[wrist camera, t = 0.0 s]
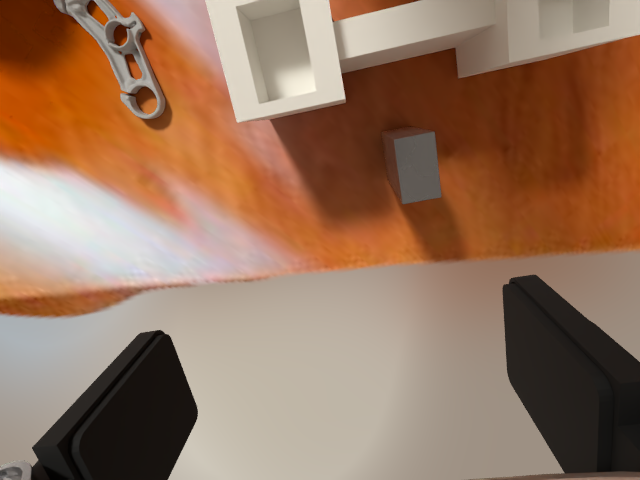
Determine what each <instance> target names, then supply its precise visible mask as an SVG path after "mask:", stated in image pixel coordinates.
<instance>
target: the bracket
mask: <svg viewBox="0 0 640 480" xmlns="http://www.w3.org/2000/svg"><path fill="white" fill-rule="evenodd" d="M53 1H54V3H55V5H56V7H57V8H58V9H59V10H60V12H62V13H65V14H68V15H70V16H72V17H74V18H75V19H76V20H77V22H78V23H79V24H80V25H81V26H82V27H83V28H84V29H85V30H86V31H87V32H88V33H90V34H91V35H92V36H93V37H94V38H95V39H96V41H97V42H98V43H99V45H100V46H101V48H102V49H103V51H104V52H105V54H106V55H107V57H108V59H109V61H110V64H111V66H112V69H113V72H114V74H115V76H116V78H117V80H118V82H119V84H120V87H121V90H123V91H125V92H128V93H134V94H137V92H138V90H139V89H140V88H142V87H145V86H146V87H148V88H150V89H151V90H152V91H153V92H154V94H155V96H156V98H157V109H156V110H155V111H154V112H153V113H152V114H150V115H148V114H146V113H144V112H142V111H141V110H140V109H139V107H138V105H137V103H136V97H134V96H131V95H128V94H124V93H121V96H120V98H121V100H122V102H123V103H124V104H125V105H126V106H127V107H128V108H129V109H130V110H131V111H132V112H133V113H134V114H135V115H136V116H138V117H140V118H144V119H153V118H157V117H159V116H160V115H161V114H162V113H163V111H164V109H165V98H164V96H163V93H162V91H161V89H160V86H159V84H158V82H157V81H156V79H155V76H154V74H153V71H152V69H151V66H150V64H149V61H148V59H147V57H146V54H145V52H144V50H143V48H142V46H141V43H140V35H141V33H142V32H143V31H145V27H144V25H143V23H142V22H141V20H140V19H139V18H138V17H137V16H136V15H135V14H134V13H133V12H132V13H131V16H130V17H129V18H124V17H123V16H122V15H121V14H120V13H119V12H118V11H117V10H116V9H115V7H114V6H113V5H112V4H111V3H110V2H109V1H108V0H93V1H95V2H96V4H97V5H98V6H99V7H100V8H101V10H102V11H103V12H104V13H105V14H106V16H107V17H108V18H109V21H108V22H107V23H106V25H105V27H104V26H103V25H102V24H100V23H99V22H98V21H97V20H95V19H94V18H93V17H92V16H91V15H90V14H88V11H87V5H88V3H89V1H90V0H53ZM115 15H116V16H117V19H116V18H115ZM121 24H122V25H124V26H126V27H129V28H131V29H126V30H127V33H128V39H127V42H126V43H125V44H124V45H123V46H118V45H116V44H114V41H115V40H114V36H113V33H114V30H115V28H116V27H117V26H118V25H121ZM132 27H133V28H132ZM137 48H138V51H139V52H138V51H137V50H136V49H137ZM118 51H121V52H122V54H121V55H120V53H119V52H118ZM127 54H133V56H134V58H135V60H136V62H137V64H138V66H139V68H140V70H141V72H142V78H141V79H138V80H135V79H134V78H132V77H131V74H130V71H129V68H128V65H127V62H126V59H125V55H127Z"/></svg>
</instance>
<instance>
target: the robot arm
mask: <svg viewBox="0 0 640 480" xmlns="http://www.w3.org/2000/svg"><path fill="white" fill-rule="evenodd" d="M503 304H504V305H503V306H504V322H505V341H506V359H507V373H508V377H509V380H510V383H511V385H512V386H513V388H514V390H515V392H516V393H517V395H518V396H519V398H520V400H521V401H522V403H523V405H524V406H525V408H526V410H527V411H528V413H529V415H530V416H531V418H532V420H533V421H534V423H535V425H536V426H537V428H538V430H539V431H540V433H541V434H542V436H543V438H544V439H545V441H546V443H547V444H548V446H549V448H550V449H551V451H552V453H553V454H554V456H555V458H556V459H557V461H558V463H559V464H560V466H561V467H562V469H563V471H564V472H565V474H542V475H529V476H516V477H500V478H484V479H470V480H640V362H639V361H638V360H637V359H635V358H634V357H633V356H632V355H631V354H630V353H628V352H627V351H626V350H625V349H624V348H623V347H621V346H620V345H619V344H618V343H616V342H615V341H614V340H613V339H612V338H611V337H610V336H608V335H607V334H606V333H605V332H604V331H603V330H601V329H600V328H599V327H598V326H597V325H596V324H594V323H593V322H591V321H589V320H588V319H587V318H586V317H584V316H583V315H582V314H581V313H580V312H578V311H577V310H576V309H575V308H574V307H573V306H571V305H570V304H569V303H568V302H567V301H566V300H565V299H563V298H562V297H561V296H560V295H559V294H558V293H556V292H555V291H554V290H553V289H552V288H551V287H549V286H548V285H547V284H546V283H545V282H544V281H542V280H541V279H540V278H539V277H538V276H536V275H529V276H522V277H515V278H511V279H510V281H509V284H506V285H504V286H503ZM197 414H198V410H197V406H196V403H195V400H194V398H193V395H192V392H191V390H190V387H189V384H188V382H187V379H186V376H185V374H184V371H183V368H182V366H181V363H180V361H179V358H178V355H177V353H176V350H175V347H174V345H173V342H172V340H171V337H170V336H169V335H167V334H165V333H164V332H163V331H161V330H157V331H150V332H145V333H140V334H139V335H137V336H136V338H135V339H134V340H133V341H132V342H131V343H130V344H129V345H128V347H126V348H125V349H124V350H123V351H122V352H121V354H120V355H119V356H118V357H117V358H116V359H115V360H114V361H113V362H112V363H111V364H110V366H108V368H107V369H106V370H105V371H104V372H103V373H102V374H101V375H100V376H99V377H98V378H97V379H96V380H95V381H94V382H93V383H92V384H91V386H90V387H89V388H88V389H87V390H86V391H85V392H84V393H83V394H82V395H81V396H80V397H79V398H78V399H77V400H76V402H75V403H74V404H73V405H72V406H71V407H70V408H69V409H68V410H67V411H66V412H65V413H64V414H63V415H62V416H61V418H60V419H59V420H58V421H57V422H56V423H55V424H54V425H53V426H52V427H51V428H50V429H49V430H48V431H47V432H46V434H45V435H44V436H43V437H42V438H41V439H40V440H39V441H38V442H37V443H36V444H35V445H34V446H33V447H32V449H33V451H34V453H35V454H36V456H37V458H38V462H37V463H36V464H35V465H34V466H33V467H32V466H31V465H30V463H28V462H26V461H14V462H10V463H7V464H4V465H2V466H0V480H168V478H169V476H170V474H171V472H172V470H173V468H174V465H175V463H176V461H177V459H178V457H179V455H180V453H181V451H182V449H183V447H184V445H185V443H186V441H187V439H188V437H189V435H190V433H191V430H192V429H193V426H194V424H195V422H196V420H197V416H198V415H197Z"/></svg>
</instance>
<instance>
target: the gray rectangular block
mask: <svg viewBox="0 0 640 480" xmlns="http://www.w3.org/2000/svg"><path fill="white" fill-rule="evenodd" d="M381 137H382V143H383V150H384V157H385V164H386V171H387V177H388V181H389V183H390V184H391V186H392V188H393V189H394V191H395V193H396V194H397V196H398V198H399V199H400V201H401V202H402V204H407V203H412V202H418V201H423V200H429V199H435V198H440V197H441V188H440V178H439V168H438V159H437V149H436V139H435V131H430V130H425V129H421V128H416V127H411V126H409V127H404V128H400V129H395V130H390V131H385V132H381Z"/></svg>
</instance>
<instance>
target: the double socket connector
mask: <svg viewBox="0 0 640 480" xmlns="http://www.w3.org/2000/svg"><path fill="white" fill-rule="evenodd" d="M205 1H206V5H207V9H208V13H209V16H210V20H211V24H212V28H213V32H214V36H215V39H216V43H217V47H218V51H219V55H220V59H221V63H222V66H223V70H224V74H225V78H226V82H227V86H228V89H229V93H230V97H231V101H232V105H233V109H234V112H235V116H236V120H237V123H238V122H248V121H259V120H270V119H274V118H279V117H284V116H288V115H293V114H297V113H302V112H307V111H311V110H316V109H320V108H325V107H330V106H334V105H339V104H343V103H346V99H345V93H344V87H343V81H342V75H341V74H342V73H346V72H351V71H355V70H359V69H364V68H368V67H373V66H377V65H381V64H386V63H390V62H394V61H399V60H403V59H408V58H412V57H416V56H421V55H425V54H430V53H434V52H438V51H443V50H447V49H451V48H456V59H457V71H458V78H463V77H467V76H472V75H477V74H481V73H486V72H490V71H495V70H500V69H504V68H509V67H513V66H518V65H523V64H527V63H532V62H536V61H541V60H546V59H549V58H553V57H557V56H561V55H564V54H568V53H572V52H576V51H579V50H583V49H587V48H591V47H594V46H598V45H602V44H606V43H609V42H613V41H617V40H621V39H624V38H628V37H632V36H636V35H639V34H640V0H420V1H416V2H412V3H408V4H404V5H400V6H396V7H392V8H388V9H384V10H380V11H376V12H372V13H368V14H363V15H359V16H355V17H351V18H347V19H343V20H339V21H335V22H332V17H331V11H330V5H329V0H205Z"/></svg>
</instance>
